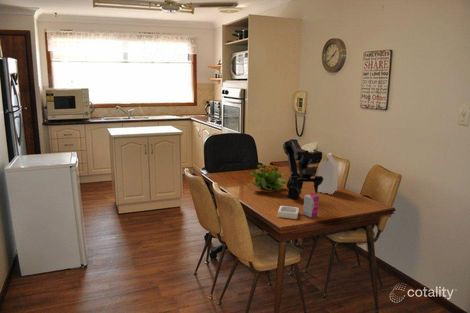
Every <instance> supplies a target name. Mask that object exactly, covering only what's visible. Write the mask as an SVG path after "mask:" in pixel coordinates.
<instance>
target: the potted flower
mask: <svg viewBox="0 0 470 313" xmlns="http://www.w3.org/2000/svg"><path fill="white" fill-rule="evenodd" d="M257 169H258V171H259V172H255V171H254V172H253V171H252V172H251V171H250V172H249V175H250V176H252V177H254V181H255V182H254V181H252V180H251V181H250V183H251V184H253V186H255V187H256V188H259V189H260V191H261V192H263V193H264V192H265V193H273V192H275V190H276V191H281V190H283V188H284V187H285V186H284V185H285V184H287V180H286V179H285V178H282V176H284V175H285V173H277V172H278V170H279V167H278V166H277V165H272V164H271V165H267V166H266V164H265V163H263V164H262V165H260V164H258V165H257ZM283 184H284V185H283Z"/></svg>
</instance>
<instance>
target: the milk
mask: <svg viewBox="0 0 470 313" xmlns="http://www.w3.org/2000/svg"><path fill="white" fill-rule="evenodd" d="M317 168H318V169H317V175H316V176H322V177H323V181H322V183H321V184H320V185H319V186H318V191H317V193H320V192H321V194H325V193H328V194H327V195H331V194H332V195H333V193H334V192H335V191H336V190H337V191H338V179H339V163H338V162H337V160H336V159H335V158H334V157H333V154H332V152H329V153H327V154H326V159H325V158H324V160H323V161H322V162H320V163H319V164H318V167H317ZM337 191H336V192H337ZM336 192H335V193H336ZM335 193H334V194H335Z"/></svg>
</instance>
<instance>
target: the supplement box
mask: <svg viewBox="0 0 470 313" xmlns="http://www.w3.org/2000/svg"><path fill="white" fill-rule="evenodd" d="M319 200H320V196H318V195H317V194H313V193H310V194H305V195H304V199H303V208H302V216H305V217H307V218H309V219H311V218H314V217H318V211H319V210H318V209H319Z"/></svg>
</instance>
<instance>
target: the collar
mask: <svg viewBox="0 0 470 313" xmlns="http://www.w3.org/2000/svg"><path fill="white" fill-rule="evenodd" d="M299 210H300V208H299V207H296V206H287V205H280V206H279V209H278V210H277V218H285V219H291V220H292V219H293V220H297V219H298V217H299Z"/></svg>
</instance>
